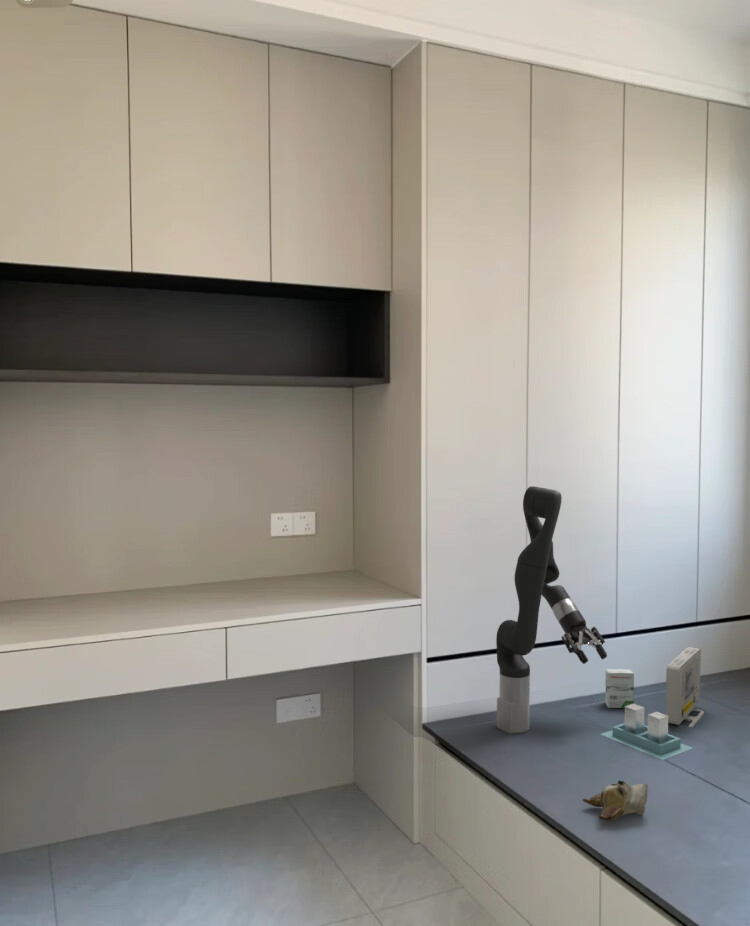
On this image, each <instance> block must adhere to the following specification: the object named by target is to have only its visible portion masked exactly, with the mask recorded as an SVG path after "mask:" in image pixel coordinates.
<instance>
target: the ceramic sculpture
mask: <svg viewBox="0 0 750 926" xmlns="http://www.w3.org/2000/svg"><path fill="white" fill-rule="evenodd" d="M601 790H602V791H601V792H600V793H598V794H595V795H594V796H592V797H590V798H582V801H583V802H584V803H586V804H588V805H591V806H592V807H596V808H602V812H601V813H600V815H599V816H598V819H599V820H604V821H610V822H611V821H612V822H613V821H616V820H617V819H619V817H622V816H626V815H630V814H634V813H635V814H637V815H638V816H643V815H644V814H645V812H646V803H647V801H648V784H647V783H646V782H644V783H639V784H637V783H636V784H634V785H632V786H630V784H629V783H628V782H626V781H625V780H618V781H617V783H613V784H609V785H606V786H604V788H602V789H601Z"/></svg>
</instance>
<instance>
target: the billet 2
mask: <svg viewBox="0 0 750 926" xmlns="http://www.w3.org/2000/svg"><path fill="white" fill-rule="evenodd" d="M647 726H648V731H647V739H649V740H651V741H654V742H656V743H659V744H662V743H664V742H667V741H668V734H669V723H668V716H667V715H666V714H664V713H661V712H659V711H654V712H651V713H648V714H647Z"/></svg>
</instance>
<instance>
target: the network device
mask: <svg viewBox="0 0 750 926" xmlns="http://www.w3.org/2000/svg"><path fill="white" fill-rule="evenodd" d="M701 658H702V650H701V648H695V647H689V646H688V647H687V648H685V650H682V652H681V653H680V654H679V655H678V656H676V657H675V658H673V660H671V662H669V663H668V664H667V666H666V674H665V675H666V676H665V677H666V679H665V681H666V682H665V684H666V685H665V715H667V716H668V724H672V725H673V724H674V725H677V726H679V725H681V723H682V722H683V721H688V722H691V723H689V725H688V727H689V728H694V727H695V725H696V724H697V723H698V722H699V721H700V719H701V718H702V717H703V716H704V713H705V711H703V710H702V709H700V708H696V707H697V706H698V704H699V703H700V697H701V666H702V665H701V662H702V659H701ZM691 712H696V713H697V712H698V714H697V716H693V715H692V716H691V715H690V714H691Z"/></svg>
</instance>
